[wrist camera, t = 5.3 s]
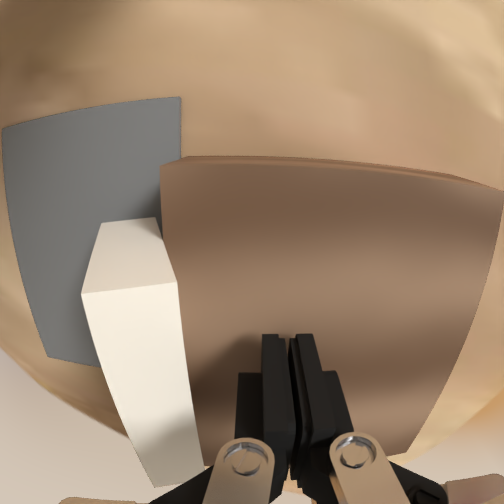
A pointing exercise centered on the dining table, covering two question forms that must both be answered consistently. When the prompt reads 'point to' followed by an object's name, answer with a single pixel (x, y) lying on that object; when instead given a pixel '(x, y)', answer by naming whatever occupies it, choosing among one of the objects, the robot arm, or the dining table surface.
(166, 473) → the tile
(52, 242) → the mat
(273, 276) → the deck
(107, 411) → the dining table surface
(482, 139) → the dining table surface
